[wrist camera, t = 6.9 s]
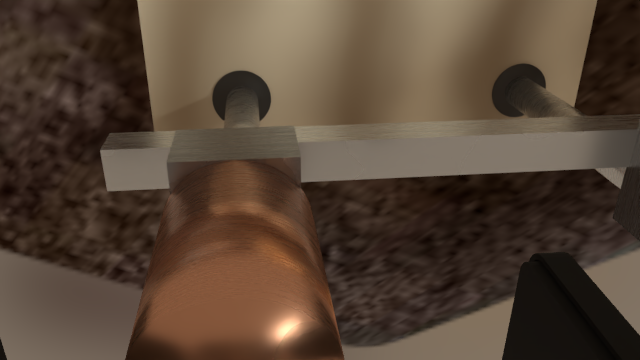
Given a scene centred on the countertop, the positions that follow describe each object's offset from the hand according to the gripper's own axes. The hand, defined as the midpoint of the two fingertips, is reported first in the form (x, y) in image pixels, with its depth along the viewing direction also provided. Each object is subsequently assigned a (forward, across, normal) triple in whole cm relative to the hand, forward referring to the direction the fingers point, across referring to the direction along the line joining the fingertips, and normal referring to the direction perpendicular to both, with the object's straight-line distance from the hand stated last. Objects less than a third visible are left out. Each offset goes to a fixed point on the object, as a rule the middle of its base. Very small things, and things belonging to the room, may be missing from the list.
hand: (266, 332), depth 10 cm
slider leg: (+16, +1, 0) cm, 16 cm away
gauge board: (+19, -5, -2) cm, 20 cm away
